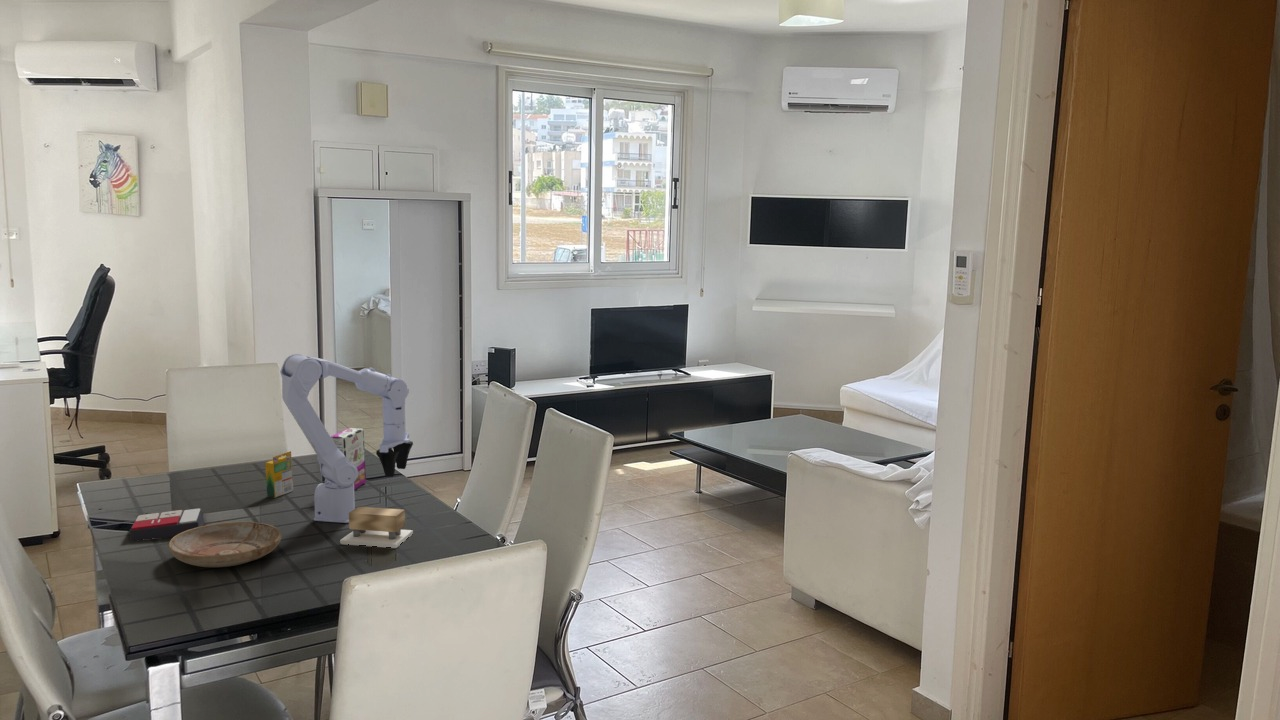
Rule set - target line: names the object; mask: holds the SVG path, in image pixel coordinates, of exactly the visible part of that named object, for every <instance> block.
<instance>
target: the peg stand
mask: <svg viewBox="0 0 1280 720" xmlns="http://www.w3.org/2000/svg"><path fill="white" fill-rule="evenodd" d="M412 534H413V535H414V530H411V529H400V530H399V531H398V532H385V531H371V530H356V529H352V531H351V532H350V533H348V534H346V535H345V536H344V537H343V538H340V541H339V542H340V545H345V546H346V545H347V546H359V545H366V546H365V547H372V546H377V547H376V548H386V547H391V548H390V549H397V548H398V547H400V544H401V543H402V542H403V543H405V542H406V541H407V540H408V539H409V538H410V537H412V536H413V535H412ZM408 537H409V538H408ZM407 538H408V539H407ZM406 539H407V540H406ZM403 543H402V544H403ZM348 544H349V545H348ZM402 544H401V545H402Z"/></svg>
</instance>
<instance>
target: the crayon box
mask: <svg viewBox="0 0 1280 720" xmlns="http://www.w3.org/2000/svg"><path fill="white" fill-rule="evenodd" d="M292 466H293V465H292V450H291V451H288V452H284V453H280V454H278V455H276V456H275V455H274V456H272V460H269V461H266V462H265V480H266V481H265V482H266V496H267V497H268V498H274V499H276V498H278V497H281V496H284V495H286V494H289V493H291V492H294V481H293V467H292Z"/></svg>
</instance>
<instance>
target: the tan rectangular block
mask: <svg viewBox="0 0 1280 720" xmlns="http://www.w3.org/2000/svg"><path fill="white" fill-rule="evenodd" d="M405 526H406V509H399V508H385V507H370V506H369V507H368V506H357V507H355V509H354V510H352V511H351V512H349V523H348V529H349V530H353V529H356V530H371V531H385V532H398V531H399V530H400V529H401V530H403V528H404V527H405Z"/></svg>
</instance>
